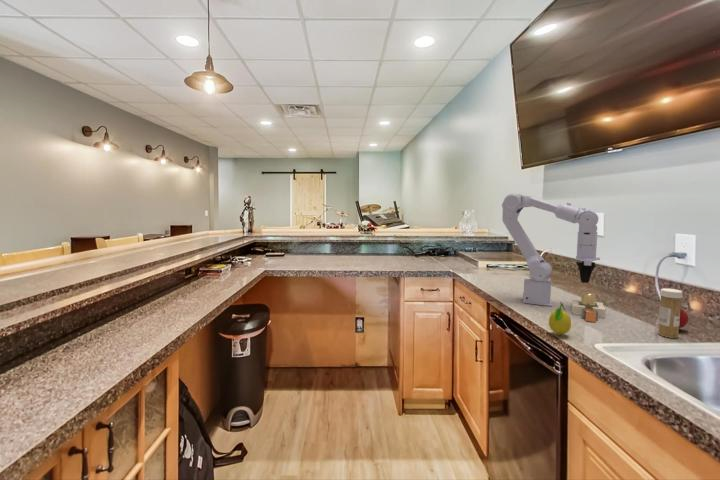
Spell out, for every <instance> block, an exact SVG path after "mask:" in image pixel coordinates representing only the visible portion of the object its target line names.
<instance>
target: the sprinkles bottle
mask: <svg viewBox="0 0 720 480" xmlns="http://www.w3.org/2000/svg"><path fill="white" fill-rule="evenodd" d="M659 295H660V301H659V303H660V304H659V310H658V311H659V313H658V331H657V334H658V335H659V336H661V337H664V336H665V337H664V338H668V337H669V338H670V339H678V338H679V337H680V335H679V329H680V328H679V322H680V308H681V303H682V302H681V300H682V298H683V291H682V290H680V289H676V288H665V287H664V288H661V289H660V293H659Z"/></svg>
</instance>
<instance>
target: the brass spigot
mask: <svg viewBox="0 0 720 480" xmlns="http://www.w3.org/2000/svg"><path fill="white" fill-rule="evenodd" d="M596 295H597V294H596V293H595V292H591V291H582V292H581V299H580V300H581V306H585V309H588V310H592V309H593V307H595V302H596V297H597V296H596Z"/></svg>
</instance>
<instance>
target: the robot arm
mask: <svg viewBox="0 0 720 480" xmlns="http://www.w3.org/2000/svg"><path fill="white" fill-rule="evenodd" d="M501 207H502V222H503V225H504V226H505V228H506V229H507V231H508V233H509V234H510V236H511V238H512V239H513V241H514V242H515V244H516V245H517V247H518V249H519V251H520V252H521V255H523V258H525V261H526V266H527V267H528V269H529V275H530V277H529V278H525V279H524V280H523V293H522V302H523V304H530V305H539V306H545V307H546V306H547V307H552V300H551V296H552V295H551V293H552V279H551V277H550V275H551V274H552V272H553V267H552V265H551V264H550V263H549V262H547V261H546V260H545V259H544V258H543V256H542V255H540V253H539V252H538V250H537V248H536V247H535V246H534V243H533V242H532V241H531V239H530V238H529V236H528V235H527V233H526V232H525V229H524V228H523V227H522V225H521V223H520V221H519V220H518V218H519V216H520V213H521V211H522V210H523V209H524V208H531V207H532V208H537V209H539V210H542V211H546V212H551V213H553V214H554V215H555V218H557V219H560V220H563V221H566V222H568V223H572V224H577V223H578V232H577V244H576V256H575V259H576V260H578V261H579V262H578V261H576V262H575V263H576V266H577V267H578V271H579V278H580V282H581V283H583V284H584V283H585V284H589V283H590V280H591V275H592V273H593V271H594V269H595V268H596V262H595V261H600V260H601V258H600V257H599V256H597V248H598V247H597V243H598V231H597V230H598V226H597V224H598V222H599V220H600V219H599V216H598V214H597V213H596V212H594V211H592V210H586V207H582V208H581V207H578V206H574V205H572V203H570V202H562V203H561V204H560V203H559V204H555V203H552V202H550V201H548V200H544V199H540V198H537V197H535V196H529V195H524V194H523V195H522V194H521V193H520V194H519V193H518V194H516V193H509V194H507V195H506V196H505V197H504V199H503V201H502V204H501Z"/></svg>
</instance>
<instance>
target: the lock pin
mask: <svg viewBox="0 0 720 480" xmlns="http://www.w3.org/2000/svg"><path fill="white" fill-rule="evenodd" d="M584 320H585V322H590V323H591V322H592V323H596V322H597V320H596V312H595V311H587V310H586V314H585V319H584Z"/></svg>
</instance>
